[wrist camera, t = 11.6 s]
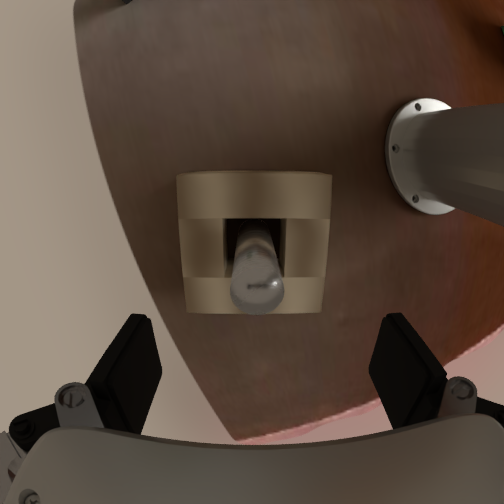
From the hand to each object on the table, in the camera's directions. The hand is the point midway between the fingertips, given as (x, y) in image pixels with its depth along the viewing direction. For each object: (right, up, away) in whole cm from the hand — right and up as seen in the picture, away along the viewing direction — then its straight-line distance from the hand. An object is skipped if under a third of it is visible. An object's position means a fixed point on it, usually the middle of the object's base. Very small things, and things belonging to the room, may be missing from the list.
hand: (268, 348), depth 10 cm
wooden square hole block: (-1, +5, +16) cm, 17 cm away
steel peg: (0, +5, +16) cm, 17 cm away
